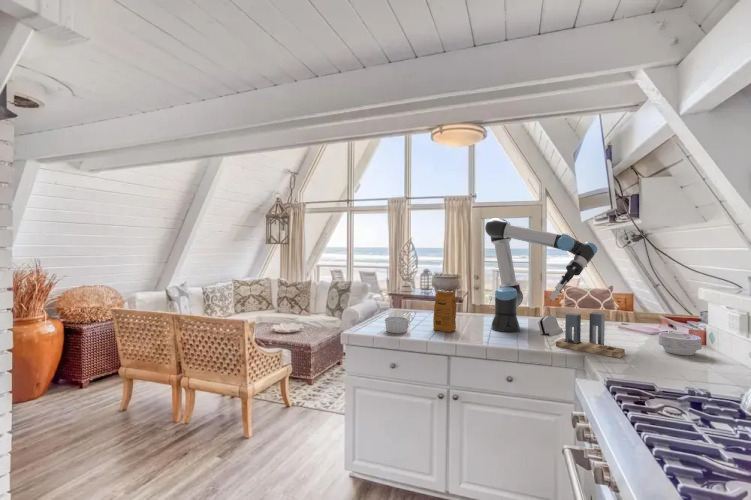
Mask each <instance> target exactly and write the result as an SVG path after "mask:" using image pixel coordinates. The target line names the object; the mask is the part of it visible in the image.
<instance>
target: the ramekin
mask: <svg viewBox="0 0 751 500" xmlns="http://www.w3.org/2000/svg"><path fill="white" fill-rule="evenodd" d="M409 322H410V319H409V318H407V317H405V316H404V317H403V316H387V317H385V318H384V323H385V330H386V332H388V333H391V334H404V333H406V332H407V331H408V327H409Z"/></svg>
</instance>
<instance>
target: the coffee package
mask: <svg viewBox="0 0 751 500" xmlns="http://www.w3.org/2000/svg"><path fill="white" fill-rule="evenodd" d="M456 300H457V299H456V292H455V291H442V290H437V291H436V295H435V300H434V301H435V302H434V305H433V308H434V309H433V323H432V325H433V328H432V329H433V331H439V332H441V333H443V332H444V333H452V332H454V331H455V330H456V329H457V324H456V323H457V321H456V319H457V302H456Z"/></svg>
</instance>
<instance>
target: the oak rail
mask: <svg viewBox="0 0 751 500" xmlns="http://www.w3.org/2000/svg"><path fill="white" fill-rule="evenodd" d="M555 347H559V348H564V349H569V350H574V351H575V350H576V351H578V352H583V353H584V352H585V353H591V354H594V355H595V354H596V355H600V356H605V357H611V358H616V359H621V358H622V357H623V356H624V355H625V354H626V351H625V350H626V349H625V348H621V347H614V346H611V345H609V346H608V345H605V344H604V345H599V344H598V343H596V344H593V343H589V341H588V342H587V341H582V340H580V344H573V339H572V342H571V343H567V342H565V337H563V338H560V339H558V340H555Z"/></svg>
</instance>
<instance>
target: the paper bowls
mask: <svg viewBox="0 0 751 500" xmlns="http://www.w3.org/2000/svg"><path fill="white" fill-rule="evenodd" d="M657 337H658V339H657V340H658V345H660V346H662V348H663V349H664V350H665V352H667V353H670V354H673V355H678V356H693V355H695V354H696V352H697V351H700V350H702V348H703V346H702V345H703V344H702V341H703V339H702V337H700V336H698V335H695V334H691V333H690V334H689V333H684V332H673V331H669V332H668V331H667V332H665V331H664V332H659V333H658V335H657Z"/></svg>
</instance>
